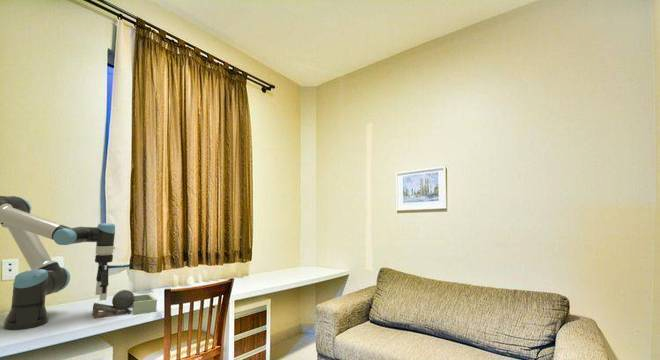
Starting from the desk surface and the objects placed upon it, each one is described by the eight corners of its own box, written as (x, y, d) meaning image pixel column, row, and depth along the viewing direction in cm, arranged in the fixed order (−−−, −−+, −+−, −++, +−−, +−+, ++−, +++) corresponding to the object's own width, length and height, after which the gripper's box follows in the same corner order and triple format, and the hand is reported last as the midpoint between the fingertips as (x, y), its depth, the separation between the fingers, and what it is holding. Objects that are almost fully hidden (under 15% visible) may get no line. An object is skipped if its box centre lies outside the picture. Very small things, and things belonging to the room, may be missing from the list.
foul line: (128, 314, 178) (128, 312, 178) (124, 309, 186) (124, 307, 186) (131, 313, 179) (131, 312, 179) (126, 308, 187) (126, 307, 187)
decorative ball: (119, 283, 182) (139, 288, 187) (111, 298, 184) (131, 302, 189) (114, 297, 174) (135, 301, 178) (106, 312, 176) (127, 316, 180)
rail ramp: (94, 318, 169) (95, 306, 170) (91, 314, 176) (92, 302, 177) (118, 315, 176) (119, 303, 176) (115, 311, 183) (116, 299, 183)
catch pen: (133, 314, 177) (134, 302, 178) (126, 307, 189) (127, 296, 189) (156, 311, 184) (156, 299, 185) (148, 304, 196) (149, 293, 196)
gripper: (117, 256, 170) (113, 301, 168) (108, 251, 189) (105, 291, 187) (99, 257, 165) (95, 303, 163) (92, 252, 184) (88, 293, 182)
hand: (100, 297), depth 175 cm, fingers open, 13 cm apart
